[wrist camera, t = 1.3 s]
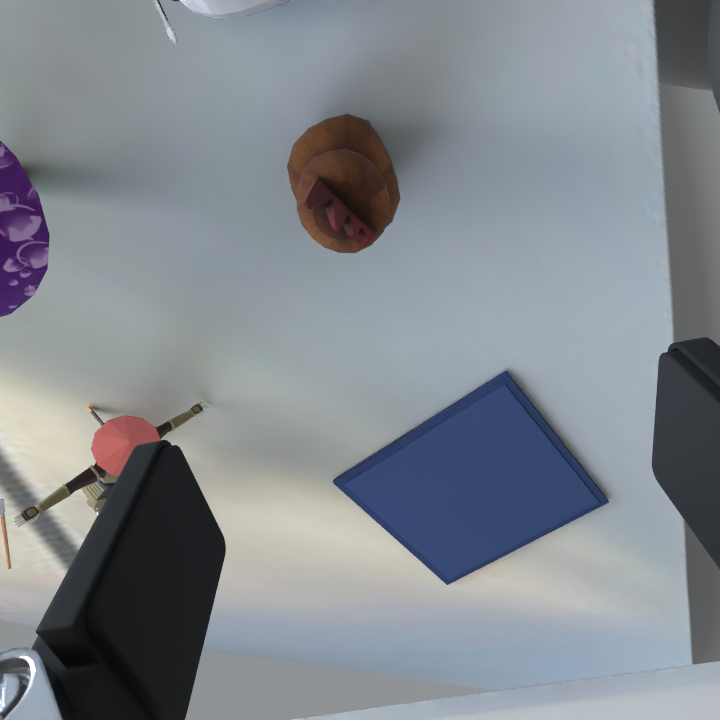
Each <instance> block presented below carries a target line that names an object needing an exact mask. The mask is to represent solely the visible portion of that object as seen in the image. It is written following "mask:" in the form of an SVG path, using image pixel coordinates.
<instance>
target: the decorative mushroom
mask: <svg viewBox="0 0 720 720" xmlns="http://www.w3.org/2000/svg"><path fill="white" fill-rule="evenodd" d="M48 250H49V232H48V228H47V225H46V221H45V217H44V214H43V210H42V206H41V203H40V199H39V195H38V193H37V192H36V190H35V188H34V187H33V185H32V183H31V182H30V180H29V178H28V176H27V175H26V173H25V171H24V170H23V168H22V166H21V165H20V163H19V161H18V160H17V158H16V156H15V155H14V154H13V153H12V152H11V151H10V150H9V149H8V148H7V147H6V146H5V145H4V144H3V143H2V142H1V141H0V317H1V316H5V315H8V314H11V313H12V312H14V311H15V310H16V309H17V308H18V307H20V306H21V305H22V304H23V303H25V302H26V301H27V300H28V299H29V298H31V297H32V296H33V295H34V294H35V292H36V290H37V288H38V286H39V284H40V282H41V280H42V278H43V276H44V275H45V273H46V271H47V266H48Z"/></svg>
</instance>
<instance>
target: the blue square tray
mask: <svg viewBox="0 0 720 720" xmlns="http://www.w3.org/2000/svg"><path fill="white" fill-rule="evenodd" d="M333 483H334V484H335V485H336V486H337V487H338V488H339V489H341V490H342V491H343V492H344V493H345V494H346V495H347V496H348V497H350V498H351V499H352V500H353V501H354V502H355V503H356V504H357V505H358V506H360V507H361V508H362V509H363V510H364V511H365V512H366V513H367V514H369V515H370V516H371V517H372V518H373V519H374V520H375V521H376V522H377V523H379V524H380V525H381V526H382V527H383V528H384V529H385V530H386V531H388V532H389V533H390V534H391V535H392V536H393V537H394V538H395V539H397V540H398V541H399V542H400V543H401V544H402V545H403V546H404V547H405V548H407V549H408V550H409V551H410V552H411V553H412V554H413V555H414V556H416V557H417V558H418V559H419V560H420V561H421V562H422V563H423V564H424V565H426V566H427V567H428V568H429V569H430V570H431V571H432V572H433V573H435V574H436V575H437V576H438V577H439V578H440V579H441V580H442V581H443V582H445V583H446V584H447V585H448V584H450V583H452V582H454V581H456V580H458V579H460V578H462V577H464V576H466V575H468V574H470V573H472V572H474V571H476V570H478V569H480V568H482V567H484V566H486V565H487V564H489V563H491V562H493V561H495V560H497V559H499V558H501V557H503V556H505V555H507V554H509V553H511V552H513V551H515V550H517V549H519V548H521V547H523V546H525V545H527V544H528V543H530V542H532V541H534V540H536V539H538V538H540V537H542V536H544V535H546V534H548V533H550V532H552V531H554V530H556V529H558V528H560V527H562V526H564V525H566V524H568V523H569V522H571V521H573V520H575V519H577V518H579V517H581V516H583V515H585V514H587V513H589V512H591V511H593V510H595V509H597V508H599V507H601V506H603V505H605V504H607V503H609V501H608V499H607V498H606V497H605V496H604V494H603V493H602V492H601V490H600V489H599V488H598V487H597V485H596V484H595V483H594V482H593V480H592V479H591V478H590V477H589V475H588V474H587V473H586V471H585V470H584V469H583V468H582V466H581V465H580V464H579V463H578V461H577V460H576V459H575V458H574V456H573V455H572V454H571V452H570V451H569V450H568V449H567V447H566V446H565V445H564V444H563V442H562V441H561V440H560V439H559V437H558V436H557V435H556V433H555V432H554V431H553V430H552V428H551V427H550V426H549V425H548V423H547V422H546V421H545V419H544V418H543V417H542V416H541V414H540V413H539V412H538V411H537V409H536V408H535V407H534V406H533V404H532V403H531V402H530V400H529V399H528V398H527V397H526V395H525V394H524V393H523V392H522V390H521V389H520V388H519V387H518V385H517V384H516V383H515V381H514V380H513V379H512V378H511V376H510V375H509V374H508V373H507V371H505V372H504V373H502V374H500V375H499V376H497V377H496V378H494V379H493V380H491V381H489V382H488V383H486V384H485V385H483V386H481V387H480V388H478V389H477V390H475V391H474V392H472V393H470V394H469V395H467V396H466V397H464V398H462V399H461V400H459V401H458V402H456V403H455V404H453V405H451V406H450V407H448V408H447V409H445V410H443V411H442V412H440V413H439V414H437V415H436V416H434V417H432V418H431V419H429V420H428V421H426V422H425V423H423V424H421V425H420V426H418V427H417V428H415V429H413V430H412V431H410V432H409V433H407V434H406V435H404V436H402V437H401V438H399V439H398V440H396V441H394V442H393V443H391V444H390V445H388V446H387V447H385V448H383V449H382V450H380V451H379V452H377V453H375V454H374V455H372V456H371V457H369V458H368V459H366V460H364V461H363V462H361V463H360V464H358V465H357V466H355V467H353V468H352V469H350V470H349V471H347V472H345V473H344V474H342V475H341V476H339V477H338V478H336V479H334V480H333Z"/></svg>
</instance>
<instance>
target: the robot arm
mask: <svg viewBox="0 0 720 720" xmlns="http://www.w3.org/2000/svg"><path fill="white" fill-rule="evenodd" d="M652 468H653V472H654V475H655V478H656V480H657V481H658V483H659V484H660V486H661V487H662V489H663V490H664V491H665V493H666V494H667V496H668V497H669V499H670V500H671V501H672V503H673V504H674V506H675V507H676V508H677V510H678V511H679V513H680V514H681V515H682V517H683V518H684V520H685V521H686V522H687V524H688V525H689V527H690V528H691V529H692V531H693V532H694V534H695V535H696V536H697V538H698V539H699V541H700V542H701V543H702V545H703V546H704V548H705V549H706V550H707V552H708V553H709V555H710V556H711V558H712V559H713V560H714V562H715V563H716V565H717V566H718V567H719V569H720V346H718V345H717V344H716V343H715V342H713V341H712V340H710V339H709V338H705V337H704V338H698V339H692V340H687V341H682V342H677V343H673V344H671V345H670V346H669V348H668V352H666V353H662V354H661V356H660V358H659V367H658V381H657V396H656V410H655V425H654V439H653V454H652ZM225 551H226V547H225V540H224V537H223V534H222V532H221V530H220V528H219V526H218V524H217V522H216V520H215V518H214V516H213V514H212V512H211V510H210V508H209V506H208V504H207V502H206V500H205V498H204V495H203V493H202V491H201V489H200V487H199V485H198V483H197V481H196V479H195V477H194V475H193V473H192V471H191V469H190V467H189V465H188V463H187V461H186V459H185V457H184V455H183V453H182V451H181V449H180V447H178V446H177V445H173V446H172V445H171V443H170V442H168V441H167V440H161V441H156V442H150V443H145V444H140V445H137V446H135V448H134V449H133V451H132V452H131V454H130V456H129V458H128V460H127V462H126V464H125V466H124V467H123V469H122V471H121V473H120V475H119V477H118V479H117V481H116V482H115V484H114V486H113V488H112V490H111V492H110V494H109V495H108V497H107V499H106V501H105V503H104V505H103V507H102V509H101V510H100V512H99V514H98V516H97V518H96V520H95V522H94V523H93V525H92V527H91V529H90V531H89V533H88V535H87V537H86V538H85V540H84V542H83V544H82V546H81V548H80V550H79V551H78V553H77V555H76V557H75V559H74V561H73V563H72V565H71V566H70V568H69V570H68V572H67V574H66V576H65V578H64V579H63V581H62V583H61V585H60V587H59V589H58V591H57V593H56V594H55V596H54V598H53V600H52V602H51V604H50V606H49V607H48V609H47V611H46V613H45V615H44V617H43V619H42V621H41V622H40V624H39V626H38V628H37V630H36V633H37V634H38V637H37V639H36V641H35V643H34V645H33V647H32V649H29V648H14V649H11V650H8V651H5V652H2V653H0V720H185V717H186V713H187V710H188V706H189V701H190V697H191V693H192V689H193V685H194V681H195V677H196V672H197V668H198V664H199V660H200V656H201V652H202V648H203V644H204V640H205V636H206V632H207V627H208V623H209V619H210V615H211V611H212V607H213V603H214V599H215V595H216V590H217V586H218V582H219V578H220V574H221V570H222V566H223V562H224V557H225ZM293 720H720V661H718V662H710V663H702V664H695V665H687V666H680V667H672V668H665V669H657V670H649V671H642V672H634V673H627V674H619V675H612V676H604V677H597V678H589V679H581V680H574V681H566V682H559V683H551V684H544V685H537V686H530V687H522V688H515V689H508V690H500V691H493V692H486V693H478V694H471V695H465V696H457V697H450V698H442V699H435V700H428V701H421V702H414V703H406V704H399V705H392V706H384V707H378V708H370V709H363V710H356V711H349V712H342V713H335V714H328V715H321V716H314V717H307V718H300V719H293Z"/></svg>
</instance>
